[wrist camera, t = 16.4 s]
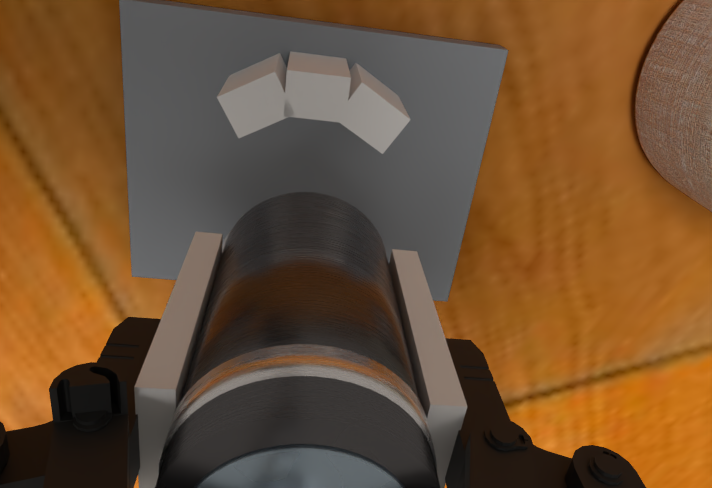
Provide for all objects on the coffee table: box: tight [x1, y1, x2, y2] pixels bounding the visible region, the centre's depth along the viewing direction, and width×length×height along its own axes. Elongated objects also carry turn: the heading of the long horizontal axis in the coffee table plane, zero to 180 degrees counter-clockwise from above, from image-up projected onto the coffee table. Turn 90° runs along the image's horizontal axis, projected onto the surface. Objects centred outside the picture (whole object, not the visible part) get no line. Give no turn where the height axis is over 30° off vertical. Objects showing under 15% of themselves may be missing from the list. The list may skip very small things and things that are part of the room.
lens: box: [155, 192, 440, 488], centre depth 14 cm, size 5×5×9 cm
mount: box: [119, 0, 508, 301], centre depth 24 cm, size 12×15×5 cm
